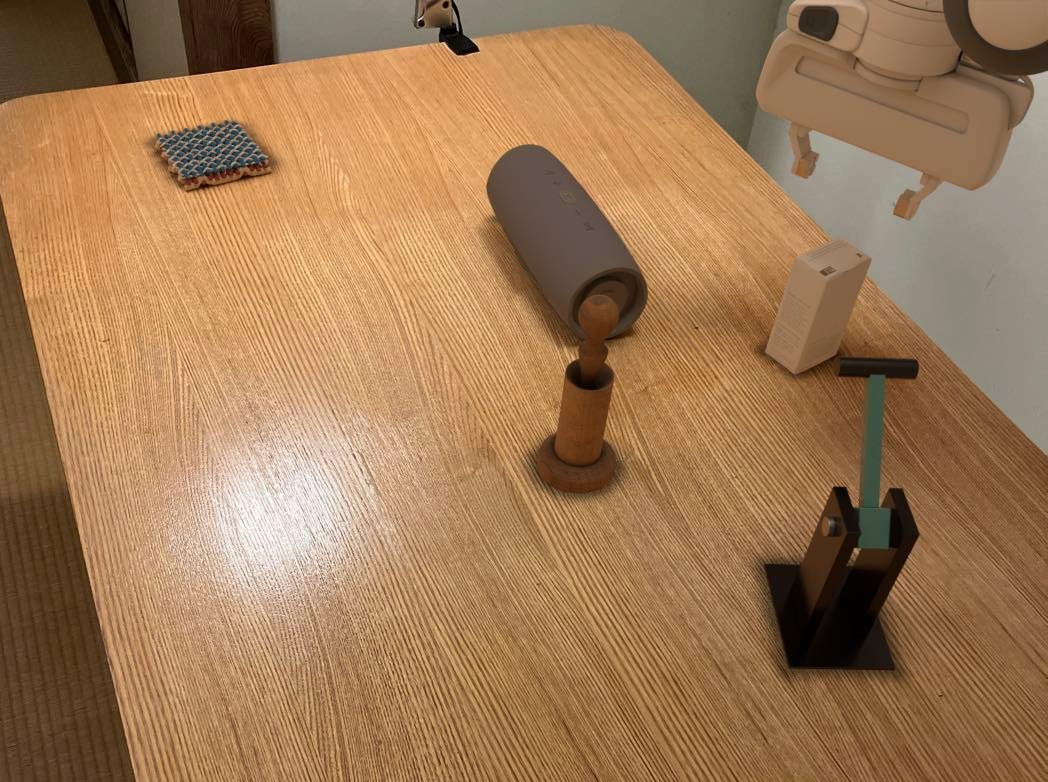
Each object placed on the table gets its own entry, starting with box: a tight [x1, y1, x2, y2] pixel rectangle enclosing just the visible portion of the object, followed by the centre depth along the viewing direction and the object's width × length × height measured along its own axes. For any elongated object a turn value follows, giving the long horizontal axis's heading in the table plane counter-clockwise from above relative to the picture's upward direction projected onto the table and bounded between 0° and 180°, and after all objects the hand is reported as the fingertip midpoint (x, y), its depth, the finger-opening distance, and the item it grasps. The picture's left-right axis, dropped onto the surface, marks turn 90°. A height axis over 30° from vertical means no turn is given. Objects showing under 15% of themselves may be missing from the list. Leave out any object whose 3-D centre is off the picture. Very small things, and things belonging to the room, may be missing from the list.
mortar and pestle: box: [536, 295, 619, 494], centre depth 85 cm, size 7×6×18 cm
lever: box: [832, 355, 920, 550], centre depth 74 cm, size 13×6×2 cm
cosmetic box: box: [764, 237, 873, 375], centre depth 100 cm, size 6×4×12 cm
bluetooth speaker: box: [486, 143, 649, 340], centre depth 107 cm, size 23×9×10 cm, turn 20°
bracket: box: [763, 485, 921, 671], centre depth 78 cm, size 10×8×13 cm
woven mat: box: [154, 119, 273, 192], centre depth 121 cm, size 10×11×2 cm
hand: (851, 194), depth 91 cm, fingers open, 8 cm apart
